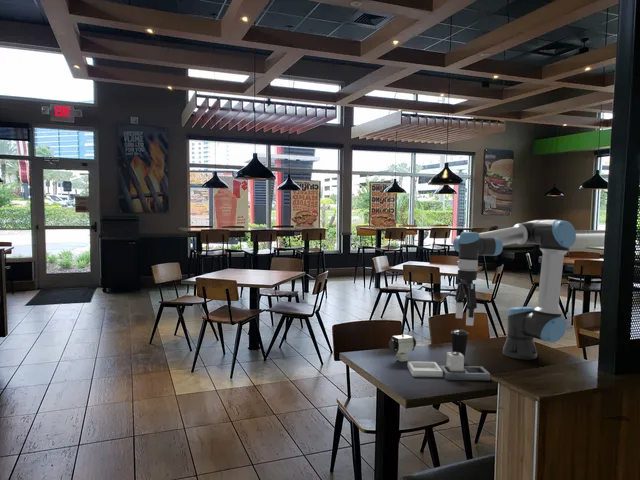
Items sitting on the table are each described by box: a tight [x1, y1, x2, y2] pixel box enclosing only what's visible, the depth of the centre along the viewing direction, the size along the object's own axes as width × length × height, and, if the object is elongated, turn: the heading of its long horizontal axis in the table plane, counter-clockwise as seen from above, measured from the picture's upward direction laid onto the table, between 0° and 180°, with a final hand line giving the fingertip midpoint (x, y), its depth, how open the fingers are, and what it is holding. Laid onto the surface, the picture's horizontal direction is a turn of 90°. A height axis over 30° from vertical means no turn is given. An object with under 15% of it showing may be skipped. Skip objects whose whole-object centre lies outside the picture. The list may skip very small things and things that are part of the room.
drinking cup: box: [450, 318, 470, 361], centre depth 218 cm, size 8×8×20 cm
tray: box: [407, 360, 444, 378], centre depth 204 cm, size 12×12×2 cm
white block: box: [445, 351, 465, 373], centre depth 200 cm, size 6×6×10 cm
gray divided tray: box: [439, 365, 492, 381], centre depth 200 cm, size 18×10×2 cm, turn 91°
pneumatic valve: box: [388, 333, 417, 363], centre depth 219 cm, size 6×12×12 cm, turn 113°
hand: (464, 321), depth 199 cm, fingers open, 13 cm apart
